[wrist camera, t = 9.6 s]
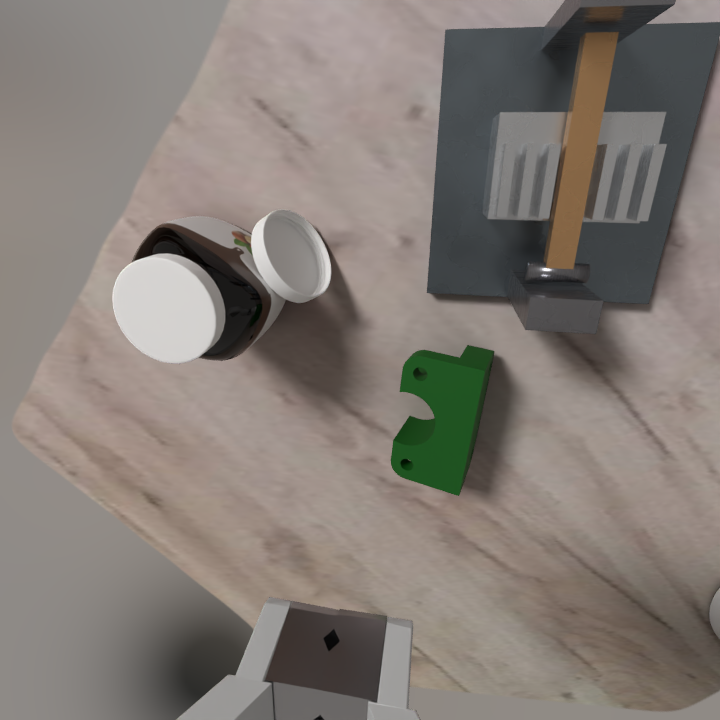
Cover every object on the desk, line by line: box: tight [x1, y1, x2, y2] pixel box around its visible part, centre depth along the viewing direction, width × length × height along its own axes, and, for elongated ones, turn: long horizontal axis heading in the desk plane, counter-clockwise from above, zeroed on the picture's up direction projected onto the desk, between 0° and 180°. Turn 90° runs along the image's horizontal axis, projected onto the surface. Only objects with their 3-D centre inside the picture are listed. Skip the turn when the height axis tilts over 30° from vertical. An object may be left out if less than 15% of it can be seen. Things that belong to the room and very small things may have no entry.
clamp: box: [391, 345, 494, 496], centre depth 38 cm, size 12×6×9 cm, turn 170°
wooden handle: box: [525, 32, 619, 283], centre depth 27 cm, size 4×13×1 cm, turn 179°
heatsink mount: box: [427, 0, 720, 334], centre depth 28 cm, size 16×17×10 cm
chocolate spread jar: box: [112, 209, 332, 364], centre depth 33 cm, size 12×11×12 cm
